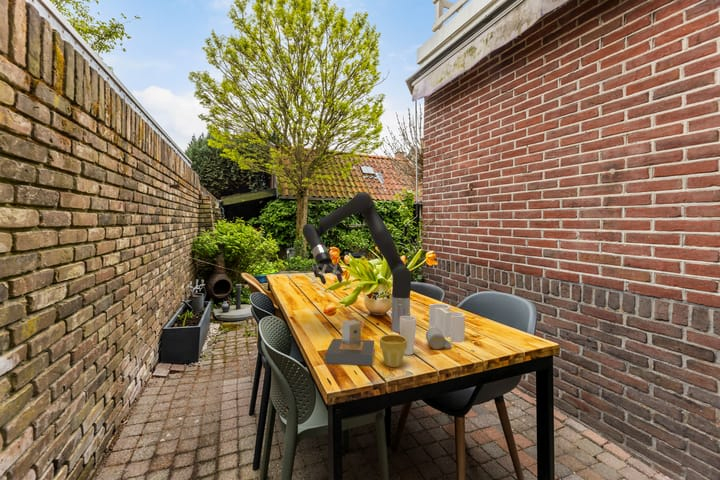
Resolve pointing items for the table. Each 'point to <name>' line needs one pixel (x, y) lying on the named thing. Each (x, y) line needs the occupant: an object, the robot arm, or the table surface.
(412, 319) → the white tube
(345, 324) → the aluminium block
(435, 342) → the ceramic mug
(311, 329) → the table surface
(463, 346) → the table surface
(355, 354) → the steel plate
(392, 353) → the plant pot
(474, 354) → the table surface
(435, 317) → the bracket
